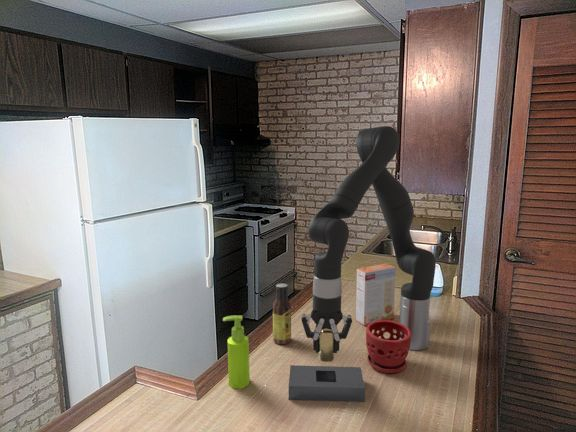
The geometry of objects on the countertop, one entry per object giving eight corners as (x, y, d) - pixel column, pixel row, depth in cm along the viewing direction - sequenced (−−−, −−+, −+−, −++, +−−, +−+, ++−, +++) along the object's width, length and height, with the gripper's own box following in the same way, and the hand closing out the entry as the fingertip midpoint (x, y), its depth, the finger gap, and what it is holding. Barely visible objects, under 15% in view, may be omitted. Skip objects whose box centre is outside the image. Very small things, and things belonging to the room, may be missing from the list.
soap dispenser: (225, 377, 120) (223, 312, 116) (249, 375, 121) (248, 311, 117) (224, 389, 114) (222, 321, 111) (249, 387, 115) (247, 320, 111)
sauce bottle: (289, 346, 138) (288, 289, 134) (270, 344, 139) (270, 288, 135) (292, 337, 144) (292, 282, 140) (275, 335, 145) (274, 281, 141)
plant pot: (356, 363, 127) (357, 327, 125) (384, 350, 135) (385, 316, 133) (390, 383, 117) (391, 344, 115) (418, 367, 125) (420, 330, 122)
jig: (360, 379, 118) (360, 367, 118) (364, 401, 109) (364, 388, 108) (290, 377, 120) (290, 365, 119) (288, 399, 110) (288, 385, 109)
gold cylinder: (333, 353, 114) (334, 326, 113) (334, 362, 110) (335, 334, 109) (317, 353, 115) (318, 326, 113) (317, 361, 110) (318, 333, 109)
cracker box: (384, 313, 163) (386, 262, 159) (394, 319, 157) (396, 267, 153) (354, 320, 157) (356, 267, 153) (364, 326, 152) (365, 272, 148)
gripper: (353, 287, 112) (351, 345, 115) (300, 286, 113) (300, 344, 116) (355, 297, 105) (353, 359, 108) (299, 296, 106) (299, 358, 109)
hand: (325, 351), depth 112 cm, fingers closed on gold cylinder, 4 cm apart
